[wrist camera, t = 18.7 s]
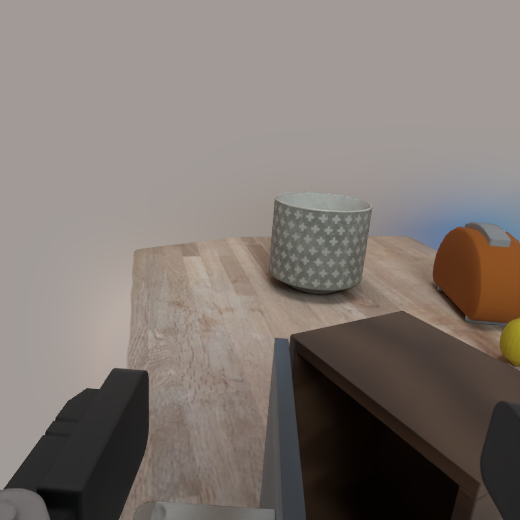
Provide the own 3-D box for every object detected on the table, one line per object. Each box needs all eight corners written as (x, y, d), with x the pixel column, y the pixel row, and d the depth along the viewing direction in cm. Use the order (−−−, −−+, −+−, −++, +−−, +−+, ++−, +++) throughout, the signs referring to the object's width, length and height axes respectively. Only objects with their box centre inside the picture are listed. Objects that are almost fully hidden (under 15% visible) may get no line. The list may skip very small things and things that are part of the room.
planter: (259, 271, 102) (265, 190, 96) (339, 271, 106) (349, 193, 100) (280, 306, 84) (289, 209, 78) (375, 304, 88) (389, 212, 83)
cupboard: (413, 727, 27) (481, 483, 21) (271, 519, 40) (290, 334, 34) (529, 626, 33) (605, 414, 27) (372, 474, 46) (402, 310, 40)
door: (124, 772, 24) (116, 510, 19) (179, 516, 39) (183, 331, 34) (272, 781, 24) (306, 522, 19) (269, 522, 39) (288, 338, 34)
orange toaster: (522, 334, 80) (547, 243, 75) (471, 330, 80) (492, 238, 75) (468, 286, 102) (485, 213, 97) (428, 283, 102) (443, 210, 97)
